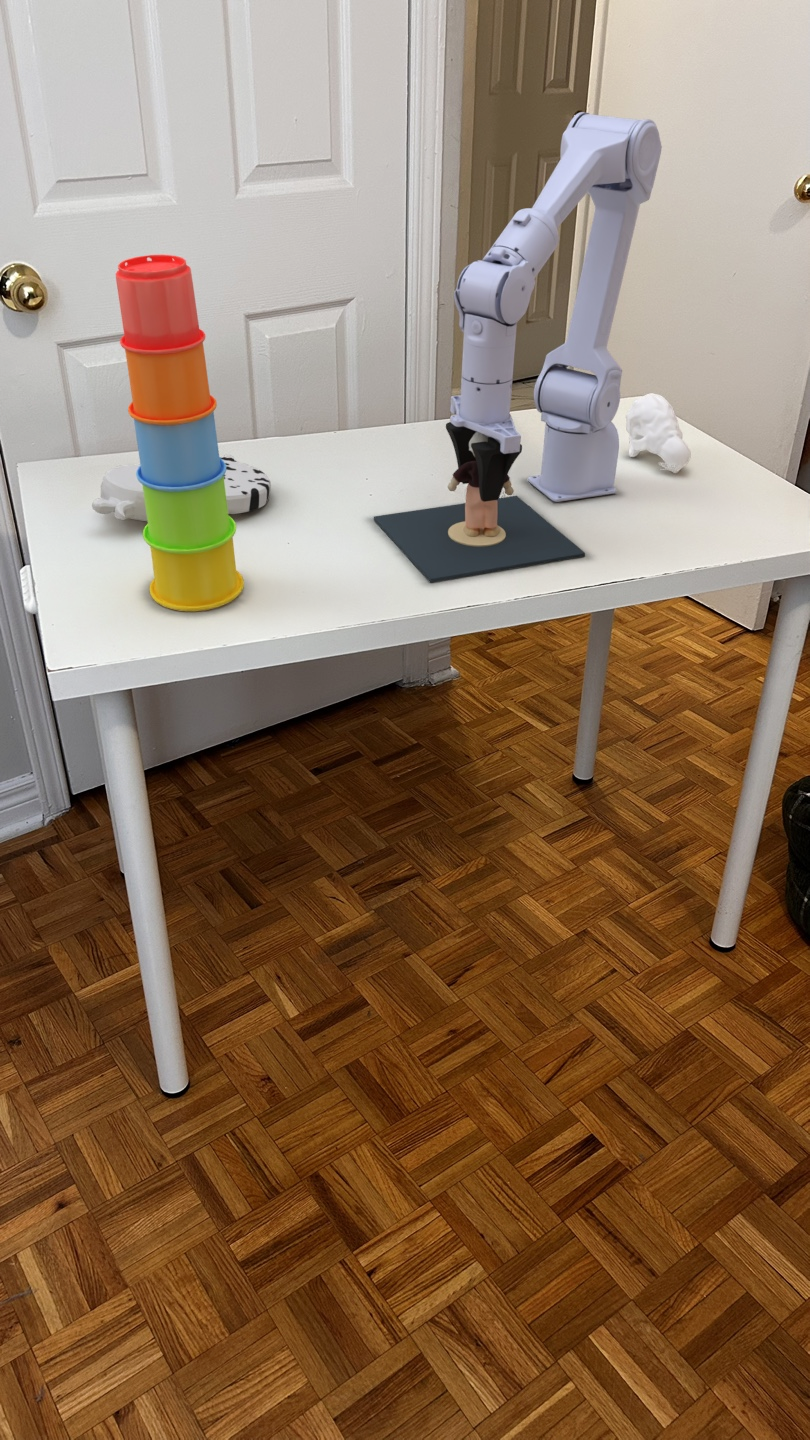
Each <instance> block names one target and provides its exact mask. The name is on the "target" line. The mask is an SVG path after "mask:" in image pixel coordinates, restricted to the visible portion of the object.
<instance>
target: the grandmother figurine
mask: <svg viewBox="0 0 810 1440" xmlns="http://www.w3.org/2000/svg"><path fill="white" fill-rule="evenodd" d="M485 441H486V442H488V436H486V435H484V434H482V433H479V432H476V433H475V434H474V435H473V437H472V438H471V440H470V442H469V450H470V451H471V452H472V453H473V455H474V452H473V450H472V448H471V443H477V442H485ZM474 457H475V455H474ZM467 480H469V483H467V486H466V491H465V502H464V503H465V525H466V526H465V527H464V529H463V530H464V532H465V534H466V535H467V536H470V537H476V536H478V535H479V531H480V529H479V528H484V527H485V528H484V535H485V536H488V537H495V536H496V535H497V534H498V533H499V532H500V528H499V526H498V525H497V500H493V501H486V502H483V501H482V500H481V498H480V493H479V474H478V466H477V462H476V461H471V462H467V463H464V464H463V465H462V466H460V467H459V468H458V467H457V469H456V470H455V471H454V472H453V473H452V477H451V480H450V482H449V483H448V485H447V489H448V491H449V492H455V491H456V489H457V487H458V486H459V485H460V483H462V482H463V481H467ZM502 489H504V493H505V495H506V496H512V495H513V494H514V492H515V490H514V488H513V487H512V482H511V479H510V476H509V473H508V474H507V477H506V480H505V482H504V485H503V488H502Z"/></svg>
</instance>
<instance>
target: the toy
mask: <svg viewBox="0 0 810 1440" xmlns="http://www.w3.org/2000/svg"><path fill="white" fill-rule="evenodd" d="M219 457H220V456H219ZM220 458H221V459H222V460H223V461H224V462H225V464H226V472H225V474H224V483H225V492H226V500H227V508H228V515H235V514H236V515H237V514H242V513H247V512H253V511H255V510H258V509H260V508H262V507H264V506H265V505H266V504H268V501H269V499H270V496H271V486H272V485H271V481H270V479H269V477H268V475H267V474H266V473H265V472H263V471H262V470H261V469H259V468H257V467H255V466H253V465H250V464H249V463H248V464H247V463H246V462H245V463H244V462H241V461H237V460H235V457H234V456H233V455H231V454H225V455H223V457H222V456H221V457H220ZM139 466H140V463H129V464H123V465H118V466H115V467H111V468H110V469H108V470H107V471H106V472H105V474H104V475H103V477H102V480H101V484H100V497H98V498H96V499H94V500H93V501H92V502H91V508H92V510H94V511H95V513H98V514H101V515H108V514H111V513H114V517H115V518H116V520H120V521H124V520H126V519H131V520H134V521H141V522H148V521H147V514H146V506H145V499H144V492H143V486H142V484H141V483H140V482H139V481H138V479H137V476H136V472H137V469H138V468H139Z"/></svg>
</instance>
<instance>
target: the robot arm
mask: <svg viewBox="0 0 810 1440" xmlns="http://www.w3.org/2000/svg"><path fill="white" fill-rule="evenodd" d="M662 148H663V146H662V141H661V137H660V133H659V130H658V126H657V124H656V122H655V121H654V120H653V119H649V118H643V119H637V118H626V117H618V116H609V115H600V114H591V113H589V112H585V111H580V112H578V113H576V114H575V115H574V116H573V117H572V118H571V120H570V122H569V123H568V125H567V127H566V129H565V130H564V132H563V133H562V136H561V141H560V151H559V152H560V153H559V154H560V156H559V157H560V159H559V161H558V162H557V164H556V166H555V167H554V169H553V171H552V173H551V174H550V176H549V178H548V179H547V181H546V183H545V185H544V186H543V188H542V190H541V191H540V194H539V195H538V197H537V198H536V200H535V202H534V203H533V205H532V207H531V208H529V207H528V208H527V207H526V208H521V209H519V210H518V211H517V212H515V214H514V215H513V216H512V218H511V219H510V220H509V222H508V223H507V225H506V226H505V227H504V229H503V230H502V232H501V233H500V234H499V236H498V237H497V239H496V240H495V242H494V243H493V244H492V246H491V247H490V249H489V250H488V251H487V252H486V254H485V255H484V257H483V258H482V259H480V260H479V259H478V260H475V261H472V262H471V263H469V264H468V265H467V266H466V265H465V267H464V268H463V269H462V271H461V272H460V274H459V276H458V280H457V282H456V289H455V290H454V291H453V299H454V300H453V301H454V305H455V307H456V310H457V312H458V315H459V316H458V317H459V321H458V322H459V325H458V326H459V328H460V332H462V333H463V341H462V342H463V344H462V361H461V378H460V379H461V382H460V395H451V396H450V407H449V408H450V410H449V412H450V413H451V414H452V415H450V417H449V422H446V424H445V429H446V432H447V433H448V435H449V438H450V440H451V444H452V446H453V449H454V452H455V453H454V454H455V457H456V463H457V469H458V468H459V467H460V466H462V465H463V464H464V463H467V462H471V461H476V462H477V466H478V474H479V493H480V498H481V500H482V501H483V502H486V501H493V500H498V499H499V498H501V497H500V496H501V493H502V492H503V489H504V488H503V485H504V482H505V480H506V477H507V474H508V475H509V472H510V470H511V468H512V466H513V465H514V462H515V461H516V459H517V458H518V457H519V456H520V455H521V453H522V451H523V445H522V444H521V441H522V435H521V434H520V433H519V432H518V431H517V428H516V425H515V423H514V420H513V417H512V415H511V404H512V389H513V380H514V379H513V377H514V365H515V351H516V340H517V339H516V337H517V326H518V322H519V321H520V320H521V319H522V317H523V316H524V315H525V314H526V312H527V310H528V308H529V304H530V301H531V297H532V293H533V291H534V289H535V285H536V277H537V276H538V274H539V273H540V272H541V270H542V269H543V267H544V266H545V265H546V263H547V261H549V259H550V257H551V256H552V255H553V253H554V251H555V250H556V249H557V247H558V245H559V242H560V235H559V231H558V228H559V227H560V225H561V224H563V222H564V221H565V220H566V218H567V217H568V216H569V215H570V214H571V212H572V211H573V210H574V209H575V208H576V207H577V205H578V204H579V203H580V202H581V201H582V200H583V198H584V197H585V196H586V195H589V196H590V198H591V201H592V202H593V205H594V213H593V218H592V222H591V226H590V232H589V237H588V241H587V246H586V251H585V253H584V254H585V255H584V259H583V264H582V268H581V273H580V278H579V281H578V285H577V286H578V287H577V290H576V296H575V300H574V306H573V309H572V314H571V318H570V323H569V328H568V331H567V332H568V333H567V337H566V341H565V342H564V343H563V344H561V345H559V346H558V347H556V348H555V349H553V350H551V351H550V352H548V353H547V354H546V355H545V359H544V363H543V365H542V369H541V371H540V374H539V375H538V377H537V379H536V381H535V383H534V384H535V385H534V389H533V402H534V406H535V409H536V410H537V412H538V413H539V414H541V415H540V421H541V422H544V423H545V425H544V435H543V436H544V437H543V447H542V455H541V466H540V474H539V475H533V476H528V477H527V482H529V483H530V484H531V485H532V486H533V487H535V488H536V489H537V490H539V492H541V493H542V494H544V495H545V497H547V498H549V499H550V500H551V501H552V502H554V503H557V502H558V503H559V502H560V503H561V502H566V501H573V500H579V499H587V498H593V497H599V496H606V495H612V494H616V493H617V488H615V482H616V481H615V480H616V473H617V466H618V458H619V451H620V438H619V431H618V429H617V426H616V425H615V424H614V423H613V419H614V418H615V417H616V415H617V412H618V409H619V406H620V402H621V381H622V376H623V369H622V367H621V366H620V364H619V363H618V362H617V360H616V359H615V358H614V357H613V355H612V354H611V352H610V351H609V350H608V348H607V347H608V344H609V340H610V335H611V331H612V326H613V322H614V318H615V313H616V310H617V305H618V301H619V296H620V292H621V288H622V284H623V279H624V275H625V271H626V266H627V263H628V259H629V254H630V249H631V246H632V241H633V237H634V234H635V233H634V232H635V228H636V223H637V219H638V215H639V211H640V207H641V204H643V203H646V202H649V200H650V199H651V195H652V191H653V188H654V184H655V180H656V176H657V172H658V168H659V163H660V160H661V155H662ZM569 367H572V368H569ZM573 368H576V369H580V370H584V371H580V370H576V369H573ZM585 371H588V372H591V373H592V374H591V373H588V372H585ZM476 432H479V433H482V434H484V435H486V436H488V442H486V441H485V442H477V443H471V448H472V450H473V452H474V455H475V457H474V455H473V453H472V452H471V451H470V450H469V442H470V440H471V438H472V437H473V435H474V434H475V433H476ZM461 483H462V484H463V485H468V483H469V480H467V481H463V482H461Z"/></svg>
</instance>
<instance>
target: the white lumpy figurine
mask: <svg viewBox="0 0 810 1440" xmlns="http://www.w3.org/2000/svg"><path fill="white" fill-rule="evenodd" d="M625 425H626V426H625V429H626V432H627V433H628V435H629V436H628V444H629V450H628V456H629V457H630V458H635V457H637V456H638V455H639V453H640V452H641V451H646V450H647V451H648V452H649V453H651V454H654V455H657V456H659V457H660V458H661V459H662V460H663V461H661V462H659V463H658V465H659V466H661V467H662V468H661V471H669V472H672V473H673V474H678V473H679V472H680V471H681V470H682V468H684V467H685V466H686V465H687V464H688V463H689V461H690V459H691V455H692V452H691V448H690V447H689V446H688V444H687V443H686V442H685V440H683V431H682V430H681V428H680V425H679V421H678V418H677V416H676V412H675V411H674V407H673V406H672V404H670V402H669V401H668V400H667V399H666V398H665V397H664V396H662V395H661V394H657V393H653V392H650V393H647V394H645V395H643V396H640V397H638V398H636V400H635V401H633V403H632V405H631V406H630V408H629V411H628V412H626V414H625Z"/></svg>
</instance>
